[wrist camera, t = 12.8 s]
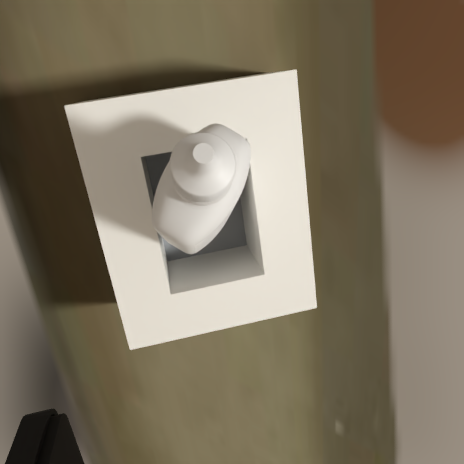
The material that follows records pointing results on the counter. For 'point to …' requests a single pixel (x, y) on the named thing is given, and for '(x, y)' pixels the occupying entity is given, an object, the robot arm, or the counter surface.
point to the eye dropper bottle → (200, 187)
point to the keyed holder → (236, 227)
